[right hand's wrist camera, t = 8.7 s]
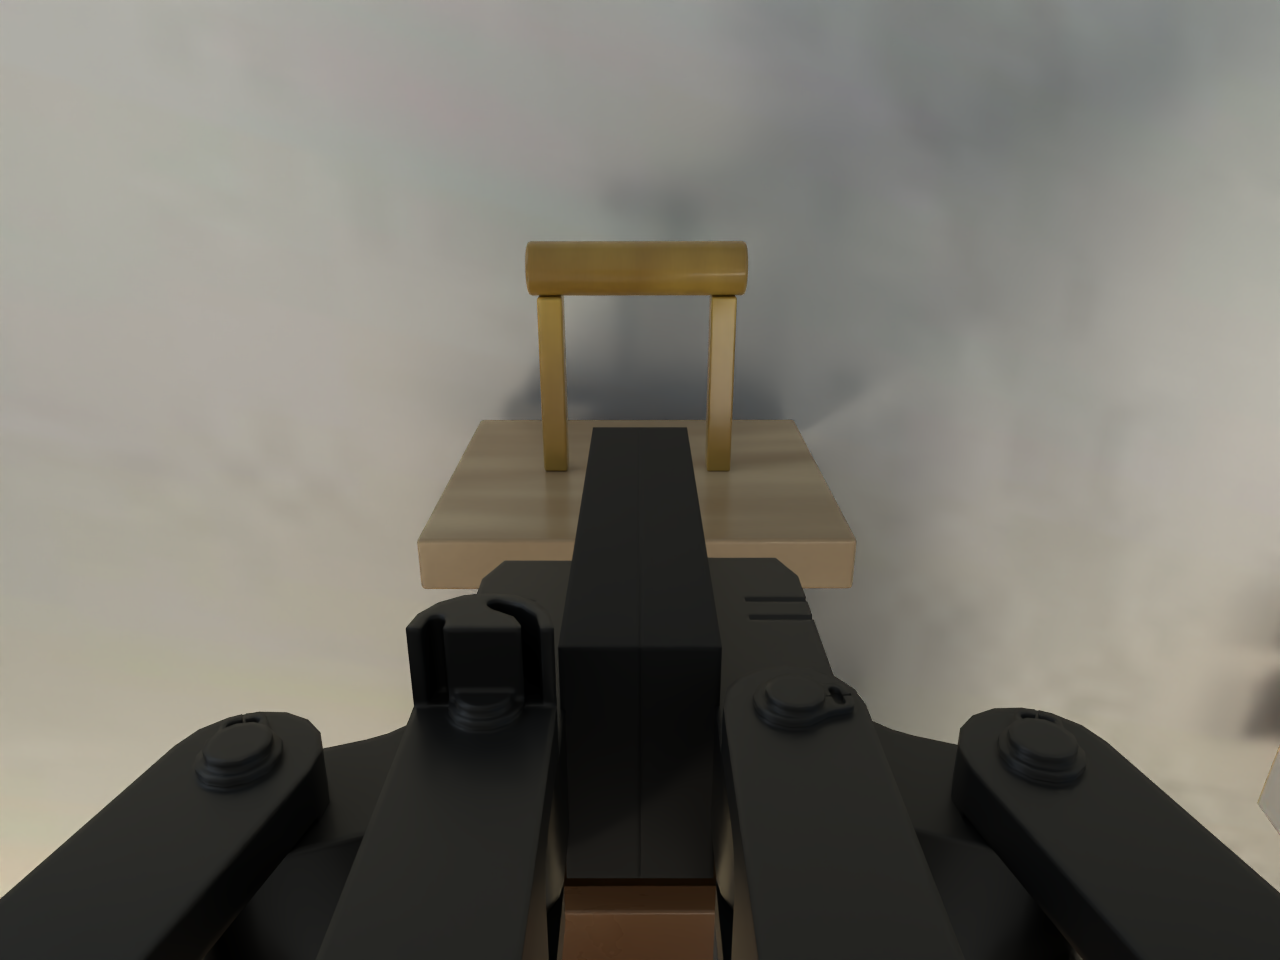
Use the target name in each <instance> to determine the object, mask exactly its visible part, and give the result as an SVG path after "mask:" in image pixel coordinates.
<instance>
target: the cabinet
mask: <svg viewBox="0 0 1280 960" xmlns="http://www.w3.org/2000/svg"><path fill="white" fill-rule="evenodd" d="M564 897H565V932H564V943H563V954H562V960H713V948H714V923H715V897H716V886H564Z"/></svg>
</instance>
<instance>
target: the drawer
mask: <svg viewBox="0 0 1280 960" xmlns="http://www.w3.org/2000/svg"><path fill="white" fill-rule="evenodd" d="M525 273H526V284H527V290H528V292H529V294H530V295H532V296H539V297H538V298H537V315H538V338H539V361H540V385H541V408H542V420H482V421H481V422H480V424H479V426H478V428H477V430H476V431H475V433H474V435H473V437H472V439H471V441H470V443H469V445H468V446H467V448H466V450H465V452H464V454H463V456H462V458H461V460H460V462H459V463H458V465H457V467H456V469H455V471H454V473H453V475H452V477H451V479H450V480H449V482H448V484H447V486H446V488H445V490H444V492H443V494H442V496H441V497H440V499H439V501H438V503H437V505H436V507H435V509H434V511H433V513H432V514H431V516H430V518H429V520H428V522H427V524H426V526H425V528H424V530H423V531H422V533H421V535H420V537H419V539H418V542H417V544H418V554H419V564H420V574H421V584H422V587H423V588H425V589H479V586H480V584H481V581H482V579H483V578H484V577H485V576H486V575H488V574H489V573H490V572H491V571H492V570H494V569H495V568H496V567H497V566H499V565H500V564H501V563H502V562H503V561H572V556H573V550H574V544H575V537H576V531H577V525H578V518H579V512H580V506H581V499H582V493H583V487H584V481H585V474H586V468H587V462H588V455H589V449H590V443H591V437H592V430H593V427H687V430H688V437H689V443H690V449H691V455H692V462H693V468H694V474H695V481H696V487H697V493H698V499H699V506H700V512H701V518H702V525H703V531H704V537H705V544H706V550H707V556H708V558H777V559H778V560H779V561H780V562H782V563H783V564H784V565H785V566H786V567H788V568H789V569H790V570H791V571H793V572H794V573H795V574H796V575H797V576H798V577H799V580H800V583H801V586H802V588H851V586H852V583H853V572H854V562H855V552H856V539H855V537H854V535H853V533H852V531H851V529H850V527H849V525H848V524H847V522H846V520H845V518H844V516H843V514H842V512H841V510H840V508H839V506H838V504H837V503H836V501H835V499H834V497H833V495H832V493H831V491H830V489H829V487H828V485H827V483H826V481H825V480H824V478H823V476H822V474H821V472H820V470H819V468H818V466H817V464H816V462H815V460H814V459H813V457H812V455H811V453H810V451H809V449H808V447H807V445H806V443H805V441H804V439H803V438H802V436H801V434H800V432H799V430H798V428H797V426H796V424H795V422H794V421H793V420H732V412H733V386H734V360H735V334H736V308H737V298H736V296H735V295H743V294H744V293H745V291H746V287H747V279H748V250H747V245H746V243H745V242H743V241H531V242H528V244H527V247H526V254H525ZM628 295H710V305H709V341H708V378H707V414H706V420H568V411H567V380H566V348H565V317H564V296H628ZM564 886H716V871H715V861H714V871H713V878H567V871H566V866H565V876H564Z"/></svg>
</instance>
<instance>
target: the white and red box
mask: <svg viewBox="0 0 1280 960" xmlns="http://www.w3.org/2000/svg"><path fill="white" fill-rule="evenodd" d="M1257 804H1258V805H1259V807H1260V808H1261V809H1262V811H1263V812H1264V813H1265V815H1266V816H1267V818H1268V819H1269V820H1270V822H1271V823H1272V825H1273V826H1274V827H1275V829H1276V830H1277V832H1278V833H1279V834H1280V746H1279V749H1278V751H1277V754H1276V756H1275V759H1274V761H1273V764H1272V766H1271V769H1270V772H1269V774H1268V777H1267V779H1266V782H1265V784H1264V787H1263V789H1262V792H1261V795H1260V797H1259V800H1258V802H1257Z"/></svg>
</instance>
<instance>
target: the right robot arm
mask: <svg viewBox="0 0 1280 960" xmlns="http://www.w3.org/2000/svg"><path fill="white" fill-rule="evenodd" d="M406 635H407V645H408V654H409V663H410V673H411V682H412V691H413V701H414V708H413V710H412V713H411V715H410V718H409V721H408V723H407V725H406V726H404V727H402V728H400V729H397V730H395V731H393V732H390V733H388V734H385V735H381V736H377V737H374V738H370V739H367V740H362V741H357V742H353V743H348V744H343V745H338V746H333V747H329V748H324V749H323V746H322V740H321V733H320V732H319V731H318V730H317V729H316V727H315V726H314V725H313V724H312V723H311V722H310V721H309V720H308V719H305V718H302V717H299V716H296V715H293V714H290V713H287V712H255V713H247V714H245V715H242V714H241V715H237V716H233V717H229V718H226V719H224V720H221V721H219V722H216V723H214V724H211V725H209V726H206V727H204V728H201V729H199V730H198V731H196V732H195V733H193V734H192V735H190V736H189V737H187V738H186V739H184V740H183V741H181V742H180V743H178V744H177V745H175V746H174V747H173V748H172V749H170V750H169V751H168V752H167V753H166V754H165V755H164V756H162V757H161V758H160V759H159V760H158V761H157V762H156V763H155V764H153V765H152V766H151V767H150V768H149V769H148V770H147V771H145V772H144V773H143V774H142V775H141V776H140V777H139V778H137V779H136V780H135V781H134V782H133V783H132V784H131V785H129V786H128V787H127V788H126V789H125V790H124V791H123V792H122V793H120V794H119V795H118V796H117V797H116V798H115V799H114V800H112V801H111V802H110V803H109V804H108V805H107V806H106V807H104V808H103V809H102V810H101V811H100V812H99V813H98V814H96V815H95V816H94V817H93V818H92V819H91V820H90V821H89V822H87V823H86V824H85V825H84V826H83V827H82V828H81V829H79V830H78V831H77V832H76V833H75V834H74V835H73V836H71V837H70V838H69V839H68V840H67V841H66V842H65V843H64V844H62V845H61V846H60V847H59V848H58V849H57V850H56V851H54V852H53V853H52V854H51V855H50V856H49V857H48V858H46V859H45V860H44V861H43V862H42V863H41V864H40V865H38V866H37V867H36V868H35V869H34V870H33V871H32V872H31V873H29V874H28V875H27V876H26V877H25V878H24V879H23V880H21V881H20V882H19V883H18V884H17V885H16V886H15V887H13V888H12V889H11V890H10V891H9V892H8V893H7V894H5V895H4V896H3V897H2V898H1V899H0V960H562V954H563V943H564V932H565V897H564V876H565V866H566V871H567V878H713V871H714V861H715V871H716V897H715V923H714V948H713V960H1280V893H1279V892H1278V891H1277V890H1276V889H1275V888H1274V887H1272V886H1271V885H1270V884H1269V883H1268V882H1267V881H1266V880H1264V879H1263V878H1262V877H1261V876H1260V875H1259V874H1258V873H1256V872H1255V871H1254V870H1253V869H1252V868H1251V867H1250V866H1248V865H1247V864H1246V863H1245V862H1244V861H1243V860H1242V859H1240V858H1239V857H1238V856H1237V855H1236V854H1235V853H1233V852H1232V851H1231V850H1230V849H1229V848H1228V847H1227V846H1225V845H1224V844H1223V843H1222V842H1221V841H1220V840H1219V839H1217V838H1216V837H1215V836H1214V835H1213V834H1212V833H1211V832H1209V831H1208V830H1207V829H1206V828H1205V827H1204V826H1203V825H1201V824H1200V823H1199V822H1198V821H1197V820H1196V819H1194V818H1193V817H1192V816H1191V815H1190V814H1189V813H1188V812H1186V811H1185V810H1184V809H1183V808H1182V807H1181V806H1180V805H1178V804H1177V803H1176V802H1175V801H1174V800H1173V799H1172V798H1170V797H1169V796H1168V795H1167V794H1166V793H1165V792H1164V791H1162V790H1161V789H1160V788H1159V787H1158V786H1157V785H1156V784H1154V783H1153V782H1152V781H1151V780H1150V779H1149V778H1147V777H1146V776H1145V775H1144V774H1143V773H1142V772H1141V771H1139V770H1138V769H1137V768H1136V767H1135V766H1134V765H1133V764H1131V763H1130V762H1129V761H1128V760H1127V759H1126V758H1125V757H1123V756H1122V755H1121V754H1120V753H1119V752H1118V751H1117V750H1115V749H1114V748H1113V747H1112V746H1111V745H1110V744H1108V743H1107V742H1106V741H1105V740H1103V739H1102V738H1100V737H1099V736H1097V735H1096V734H1094V733H1093V732H1091V731H1090V730H1088V729H1087V728H1085V727H1084V726H1082V725H1080V724H1077V723H1075V722H1072V721H1070V720H1067V719H1065V718H1062V717H1060V716H1057V715H1055V714H1052V713H1048V712H1044V711H1040V710H1039V711H1036V710H1035V709H1026V708H994V709H991V710H988V711H985V712H982V713H979V714H976V715H973V716H972V717H971V718H970V719H969V720H968V721H967V722H966V723H965V724H964V725H963V726H962V727H961V728H960V733H959V740H958V745H956V744H951V743H946V742H941V741H936V740H932V739H927V738H922V737H917V736H913V735H909V734H906V733H902V732H898V731H895V730H892V729H889V728H887V727H885V726H883V725H880V724H878V723H876V722H873V721H872V719H871V717H870V714H869V712H868V709H867V706H866V704H865V703H864V702H863V700H862V699H861V698H860V696H859V695H858V693H857V692H856V691H855V689H853V688H852V687H850V686H849V685H847V684H846V683H844V682H842V681H841V680H839V679H838V678H836V677H835V676H833V673H832V670H831V667H830V664H829V662H828V659H827V656H826V653H825V650H824V648H823V645H822V642H821V639H820V636H819V633H818V631H817V628H816V625H815V622H814V620H812V614H811V611H810V608H809V605H808V603H807V602H806V597H805V594H804V591H803V588H802V586H801V583H800V580H799V577H798V576H797V575H796V574H795V573H794V572H793V571H791V570H790V569H789V568H788V567H786V566H785V565H784V564H783V563H782V562H780V561H779V560H778V559H777V558H708V556H707V550H706V544H705V537H704V531H703V525H702V518H701V512H700V506H699V499H698V493H697V487H696V481H695V474H694V468H693V462H692V455H691V449H690V443H689V437H688V430H687V427H593V430H592V437H591V443H590V449H589V455H588V462H587V468H586V474H585V481H584V487H583V493H582V499H581V506H580V512H579V518H578V525H577V531H576V537H575V544H574V550H573V556H572V561H503V562H502V563H501V564H500V565H499V566H497V567H496V568H495V569H494V570H492V571H491V572H490V573H489V574H488V575H486V576H485V577H484V578H483V579H482V581H481V584H480V586H479V589H478V592H477V594H473V595H463V596H460V597H456V598H453V599H449V600H446V601H442V602H439V603H437V604H435V605H433V606H431V607H430V608H428V609H426V610H424V611H422V612H421V613H419V614H417V616H416V617H415V618H414V619H413V620H412V621H411V623H410V624H409V625H408V626H407V627H406Z"/></svg>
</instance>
